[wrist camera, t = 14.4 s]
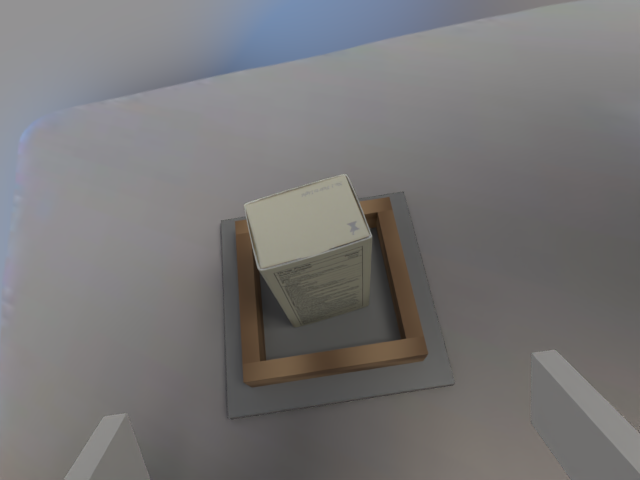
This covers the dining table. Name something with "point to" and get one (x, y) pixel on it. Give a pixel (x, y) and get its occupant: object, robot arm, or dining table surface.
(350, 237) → the skincare box
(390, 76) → the dining table surface
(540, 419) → the robot arm
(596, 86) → the dining table surface
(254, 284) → the walnut collar
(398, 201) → the slate tray
